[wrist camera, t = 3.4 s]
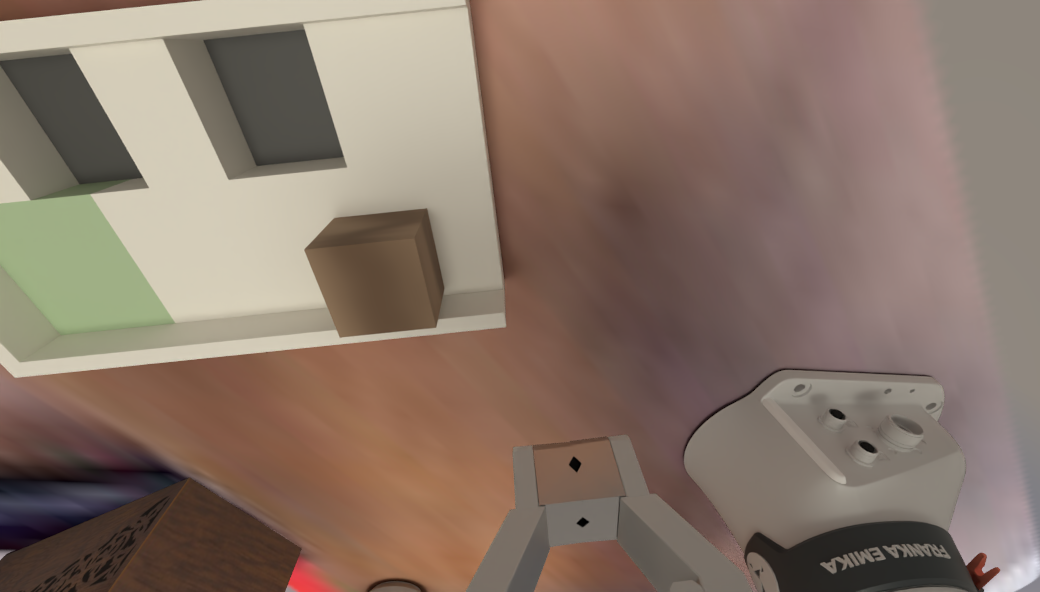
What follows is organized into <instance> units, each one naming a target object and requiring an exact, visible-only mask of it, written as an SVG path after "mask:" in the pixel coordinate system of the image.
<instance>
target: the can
mask: <svg viewBox="0 0 1040 592" xmlns="http://www.w3.org/2000/svg"><path fill="white" fill-rule="evenodd" d="M370 592H421V591H420V589H419V588H418V587H417V586H415V585H413V584H411V583H407V582H401V581H390V582H385V583H381V584H379V585H377V586H375V587H374V588H373V589H372V590H371V591H370Z"/></svg>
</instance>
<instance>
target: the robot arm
mask: <svg viewBox="0 0 1040 592" xmlns="http://www.w3.org/2000/svg"><path fill="white" fill-rule="evenodd" d="M943 405H944V390H943V387H942V385H941V384H940V383H938V382H937V381H936V380H935V379H934V378H932V377H926V376H908V375H886V374H865V373H844V372H823V371H802V370H783V371H779V372H777V373H775V374H773V375H772V376H770V377H769V378H768V379H767V380H765V381H764V382H763V383H762V384H761V385H760V386H759V387H757V388H756V389H755V390H754V391H753V392H752V393H751V394H749V395H748V396H746V397H745V398H743V399H741V400H739V401H737V402H735V403H733V404H731V405H729V406H728V407H726V408H724V409H722V410H721V411H719V412H718V413H716V414H715V415H714V416H712V417H711V418H710V419H708V420H707V421H706V422H705V423H704V424H703V425H702V426H701V427H700V428H699V429H698V430H697V431H696V432H695V434H694V435H693V436H692V438H691V439H690V441H689V443H688V445H687V448H686V450H685V454H684V465H685V469H686V471H687V473H688V475H689V476H690V477H691V478H692V479H693V480H694V482H695V483H696V484H697V485H698V486H699V487H700V489H701V490H702V491H703V492H704V493H705V495H706V496H707V497H708V499H709V500H710V501H711V503H712V504H713V506H714V507H715V509H716V510H717V511H718V513H719V514H720V516H721V517H722V519H723V520H724V522H725V524H726V525H727V527H728V528H729V530H730V531H731V533H732V535H733V536H734V538H735V539H736V541H737V543H738V545H739V546H740V548H741V550H742V551H743V553H744V559H745V562H746V565H747V567H748V569H749V572H750V575H751V577H752V580H753V582H754V585H755V587H756V589H757V591H758V592H984V589H983V588H982V587H983V586H985V585H986V584H987V583H988V582H989V581H990V580H991V579H992V578H993V577H994V576H996V575H997V574H998V573H999V571H1000V569H999V568H998V567H996V568H993V569H991V570H990V571H988V572H986V573H985V574H984V573H983V572H982V568H983V567H984V565H985V562H986V558H987V556H986V555H985V554H984V553H979V554H978V555H977V556H976V557H975V558H974V559H973V560H972V561H971V562H970V563H969V564H968V565H967V566H966V565H965V563H964V561H963V559H962V557H961V555H960V553H959V551H958V549H957V547H956V545H955V543H954V541H953V539H952V537H951V535H950V534H949V533H948V530H949V527H950V523H951V520H952V516H953V513H954V509H955V506H956V502H957V499H958V496H959V493H960V490H961V486H962V483H963V480H964V476H965V473H966V461H965V457H964V454H963V452H962V450H961V448H960V447H959V445H958V444H957V442H956V441H955V440H954V439H953V437H952V436H951V435H950V434H949V433H948V432H947V431H946V430H945V429H944V428H943V427H942V426H941V425H940V424H939V423H938V420H939V417H940V415H941V412H942V409H943ZM533 453H534V455H533ZM513 468H514V486H515V505H516V509H513V510H510V511H509V513H508V514H507V516H506V518H505V520H504V522H503V524H502V525H501V527H500V529H499V531H498V533H497V535H496V537H495V538H494V540H493V542H492V544H491V546H490V548H489V550H488V551H487V553H486V555H485V557H484V559H483V561H482V562H481V564H480V566H479V568H478V570H477V572H476V574H475V575H474V577H473V579H472V581H471V583H470V585H469V586H468V588H467V590H466V592H534V590H535V587H536V585H537V582H538V579H539V577H540V574H541V571H542V569H543V566H544V564H545V561H546V558H547V556H548V553H549V550H550V547H553V546H560V545H567V544H574V543H581V542H592V541H604V540H616V539H617V542H618V543H619V544H620V545H621V547H622V548H623V549H624V550H625V552H626V553H627V554H628V555H629V557H630V558H631V559H632V560H633V561H634V563H635V564H636V565H637V566H638V568H639V569H640V570H641V571H642V573H643V574H644V575H645V576H646V578H647V579H648V580H649V581H650V582H651V584H652V585H653V586H654V587H655V589H656V590H657V591H658V592H752V589H751V587H750V585H749V583H748V581H747V579H746V577H745V575H744V573H743V572H742V571H741V570H740V569H739V568H738V567H737V566H735V565H734V564H733V563H732V562H731V561H730V560H729V559H728V558H727V557H725V556H724V555H723V554H722V553H721V552H720V551H719V550H718V549H717V548H715V547H714V546H713V545H712V544H711V543H710V542H709V541H708V540H707V539H705V538H704V537H703V536H702V535H701V534H700V533H699V532H698V531H697V530H695V529H694V528H693V527H692V526H691V525H690V524H689V523H688V522H687V521H686V520H684V519H683V518H682V517H681V516H680V515H679V514H678V513H677V512H676V511H674V510H673V509H672V508H671V507H670V506H669V505H668V504H667V503H666V502H664V501H663V500H662V499H661V498H660V497H659V496H658V495H657V494H649V491H648V488H647V485H646V482H645V480H644V477H643V474H642V471H641V468H640V466H639V463H638V460H637V457H636V454H635V452H634V449H633V446H632V443H631V440H630V438H629V437H628V436H627V435H618V436H611V437H607V436H605V437H598V438H590V439H582V440H574V441H570V442H562V443H551V444H539V445H533V447H532V445H528V446H519V447H513Z"/></svg>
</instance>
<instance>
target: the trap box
mask: <svg viewBox="0 0 1040 592" xmlns="http://www.w3.org/2000/svg"><path fill="white" fill-rule="evenodd" d="M426 208H427V210H428V215H429V219H430V224H431V229H432V233H433V238H434V242H435V247H436V252H437V256H438V261H439V265H440V270H441V275H442V279H443V284H444V293H443V298H442V303H441V308H440V312H439V317H438V322H437V327H436V328H429V329H419V330H410V331H400V332H390V333H381V334H371V335H361V336H351V337H342V338H340V337H339V335H338V332H337V330H336V327H335V325H334V322H333V320H332V317H331V315H330V312H329V310H328V308H327V305H326V303H325V300H324V298H323V295H322V293H321V290H320V288H319V285H318V283H317V281H316V278H315V276H314V273H313V271H312V268H311V266H310V263H309V261H308V258H307V256H306V254H305V251H304V249H305V248H306V247H307V246H308V245H309V244H310V243H311V242H312V241H313V240H314V239H315V238H316V237H317V235H318V234H319V233H320V232H321V231H322V230H323V229H324V228H325V227H326V226H327V225H328V224H329V223H330V222H331V221H332V220H333V219H334V218H338V217H348V216H358V215H367V214H377V213H387V212H397V211H406V210H416V209H426ZM503 327H506V310H505V285H504V273H503V265H502V257H501V249H500V241H499V233H498V225H497V217H496V209H495V201H494V193H493V185H492V177H491V169H490V161H489V153H488V145H487V137H486V129H485V121H484V113H483V105H482V97H481V89H480V81H479V73H478V65H477V57H476V49H475V41H474V33H473V25H472V17H471V9H470V1H469V0H202V1H193V2H183V3H173V4H164V5H154V6H144V7H135V8H125V9H115V10H106V11H96V12H87V13H77V14H67V15H58V16H48V17H38V18H29V19H19V20H10V21H0V363H1V364H2V365H3V366H4V367H5V368H6V369H7V370H8V371H9V372H10V373H11V374H12V375H13V376H14V377H15V378H17V377H27V376H37V375H46V374H56V373H66V372H75V371H85V370H95V369H104V368H114V367H124V366H134V365H143V364H153V363H163V362H172V361H182V360H192V359H202V358H211V357H221V356H231V355H240V354H250V353H260V352H270V351H279V350H289V349H299V348H308V347H318V346H328V345H338V344H347V343H357V342H367V341H376V340H386V339H396V338H406V337H415V336H425V335H435V334H444V333H454V332H464V331H474V330H483V329H493V328H503Z"/></svg>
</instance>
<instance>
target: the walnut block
mask: <svg viewBox="0 0 1040 592" xmlns="http://www.w3.org/2000/svg"><path fill="white" fill-rule="evenodd" d="M304 251H305V254H306V256H307V258H308V261H309V263H310V266H311V268H312V271H313V273H314V276H315V278H316V281H317V283H318V285H319V288H320V290H321V293H322V295H323V298H324V300H325V303H326V305H327V308H328V310H329V312H330V315H331V317H332V320H333V322H334V325H335V327H336V330H337V332H338V335H339V337H340V338H342V337H351V336H361V335H371V334H381V333H390V332H400V331H410V330H419V329H429V328H436V327H437V322H438V317H439V312H440V308H441V303H442V298H443V293H444V284H443V279H442V275H441V270H440V265H439V261H438V256H437V252H436V247H435V242H434V238H433V233H432V229H431V224H430V219H429V215H428V210H427V208H426V209H416V210H406V211H397V212H387V213H377V214H367V215H358V216H348V217H338V218H334V219H333V220H332V221H331V222H330V223H329V224H328V225H327V226H326V227H325V228H324V229H323V230H322V231H321V232H320V233H319V234H318V235H317V237H316V238H315V239H314V240H313V241H312V242H311V243H310V244H309V245H308V246H307V247H306V248H305V249H304Z"/></svg>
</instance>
